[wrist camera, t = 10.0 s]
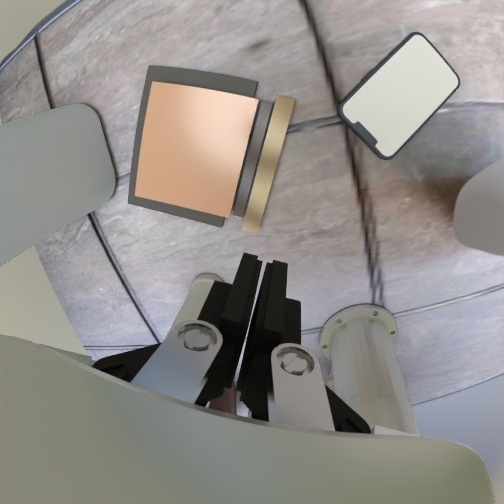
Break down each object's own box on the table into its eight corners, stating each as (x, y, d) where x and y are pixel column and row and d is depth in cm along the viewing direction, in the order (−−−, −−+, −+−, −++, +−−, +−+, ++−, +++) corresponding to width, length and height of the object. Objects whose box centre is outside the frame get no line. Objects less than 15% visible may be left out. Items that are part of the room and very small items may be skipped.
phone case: (412, 29, 24) (330, 109, 30) (417, 26, 22) (333, 109, 29) (458, 83, 26) (383, 163, 32) (464, 83, 24) (387, 165, 31)
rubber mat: (223, 224, 38) (221, 227, 37) (131, 200, 37) (127, 203, 37) (258, 82, 29) (257, 81, 28) (152, 66, 29) (148, 65, 28)
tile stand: (259, 226, 37) (257, 233, 35) (232, 219, 37) (229, 226, 35) (294, 100, 30) (295, 99, 28) (264, 92, 30) (263, 91, 28)
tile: (258, 99, 28) (152, 81, 28) (229, 218, 35) (134, 195, 34) (259, 99, 29) (156, 81, 29) (230, 214, 36) (138, 192, 35)
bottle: (225, 305, 44) (179, 463, 22) (191, 297, 44) (126, 446, 22) (230, 276, 41) (178, 443, 19) (193, 268, 41) (117, 423, 19)
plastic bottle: (97, 93, 31) (-100, 134, 6) (127, 197, 37) (-32, 331, 13) (29, 134, 34) (-119, 197, 9) (56, 219, 40) (-70, 324, 16)
